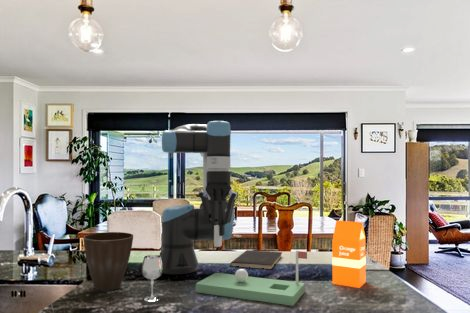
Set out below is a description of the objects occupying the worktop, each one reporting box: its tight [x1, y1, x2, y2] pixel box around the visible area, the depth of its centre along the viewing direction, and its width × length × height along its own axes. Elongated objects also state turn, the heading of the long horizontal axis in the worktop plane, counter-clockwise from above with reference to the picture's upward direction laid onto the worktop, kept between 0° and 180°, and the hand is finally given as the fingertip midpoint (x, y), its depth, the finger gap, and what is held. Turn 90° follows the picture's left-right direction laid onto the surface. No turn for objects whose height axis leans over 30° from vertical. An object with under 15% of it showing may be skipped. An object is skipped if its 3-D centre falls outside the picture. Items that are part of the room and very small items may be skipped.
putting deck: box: [195, 249, 308, 306], centre depth 123 cm, size 31×14×12 cm, turn 67°
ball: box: [234, 268, 249, 282], centre depth 124 cm, size 4×4×4 cm
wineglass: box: [141, 254, 163, 303], centre depth 115 cm, size 6×6×12 cm
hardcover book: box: [229, 249, 283, 270], centre depth 163 cm, size 16×23×2 cm
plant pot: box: [83, 231, 134, 292], centre depth 127 cm, size 15×15×16 cm
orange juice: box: [331, 220, 367, 289], centre depth 133 cm, size 8×9×20 cm
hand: (218, 246), depth 127 cm, fingers closed
